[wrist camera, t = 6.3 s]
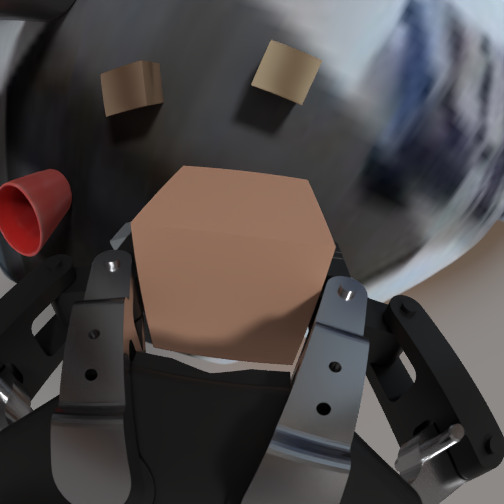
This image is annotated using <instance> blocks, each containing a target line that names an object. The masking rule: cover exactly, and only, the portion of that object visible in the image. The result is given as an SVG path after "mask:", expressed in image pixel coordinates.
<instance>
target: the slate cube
mask: <svg viewBox="0 0 504 504" xmlns="http://www.w3.org/2000/svg"><path fill="white" fill-rule="evenodd" d="M130 232H131V222H129V223H126V224H125V225H124V226H123V227H122V228H121V229H120V230H119V231H118V233H117V234H116V235H115V236H114V237H113V238H112V240H111V241H110V243H111V245H112V247H113V249H114V250H117V249H118V248H119V246H120V245H121V244H122V242H123V241H124V240H125V238H126V237H127V236H128V235H129V234H130Z"/></svg>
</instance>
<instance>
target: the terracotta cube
mask: <svg viewBox="0 0 504 504" xmlns="http://www.w3.org/2000/svg"><path fill="white" fill-rule="evenodd" d="M131 231H132V239H133V246H134V253H135V260H136V266H137V272H138V278H139V283H140V289H141V294H142V299H143V304H144V309H145V313H146V318H147V322H148V327H149V331H150V335H151V339H152V343H153V347H155V348H160V349H165V350H170V351H175V352H181V353H187V354H193V355H200V356H206V357H213V358H221V359H229V360H238V361H247V362H258V363H271V364H286V365H292V364H293V362H294V360H295V357H296V354H297V352H298V350H299V347H300V345H301V342H302V340H303V338H304V335H305V333H306V330H307V327H308V325H309V322H310V320H311V317H312V314H313V312H314V309H315V306H316V304H317V301H318V298H319V295H320V293H321V290H322V287H323V284H324V281H325V278H326V275H327V272H328V269H329V266H330V263H331V260H332V257H333V254H334V251H335V248H336V246H335V244H334V241H333V239H332V236H331V234H330V231H329V229H328V226H327V224H326V221H325V219H324V216H323V214H322V212H321V209H320V207H319V205H318V202H317V200H316V198H315V195H314V193H313V191H312V189H311V186H310V184H309V182H308V180H305V179H298V178H292V177H285V176H278V175H271V174H263V173H255V172H247V171H238V170H228V169H218V168H206V167H193V166H183V167H182V168H181V169H180V170H179V171H178V172H177V173H176V174H175V175H174V176H173V177H172V178H171V179H170V180H169V181H168V182H167V183H166V184H165V185H164V186H163V187H162V188H161V189H160V190H159V192H158V193H157V194H156V195H155V196H154V197H153V198H152V199H151V200H150V201H149V202H148V204H147V205H146V206H145V207H144V208H143V209H142V210H141V211H140V213H139V214H138V215H137V216H136V217H135V218H134V219H133V221H132V222H131Z"/></svg>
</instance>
